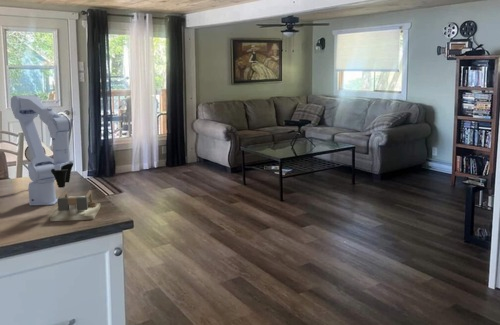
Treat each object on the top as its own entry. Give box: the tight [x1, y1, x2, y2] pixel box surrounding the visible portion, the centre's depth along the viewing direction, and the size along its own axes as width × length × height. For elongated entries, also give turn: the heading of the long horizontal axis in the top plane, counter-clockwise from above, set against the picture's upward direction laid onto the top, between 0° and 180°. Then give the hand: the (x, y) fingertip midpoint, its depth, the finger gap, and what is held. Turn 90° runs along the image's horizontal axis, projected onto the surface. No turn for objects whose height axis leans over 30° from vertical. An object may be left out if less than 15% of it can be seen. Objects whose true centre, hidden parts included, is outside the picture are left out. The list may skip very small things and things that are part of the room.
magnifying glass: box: [24, 146, 47, 163], centre depth 213 cm, size 9×2×20 cm, turn 126°
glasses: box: [57, 189, 93, 211], centre depth 177 cm, size 10×11×4 cm
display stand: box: [49, 195, 101, 222], centre depth 177 cm, size 15×15×6 cm
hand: (64, 184), depth 180 cm, fingers open, 7 cm apart
